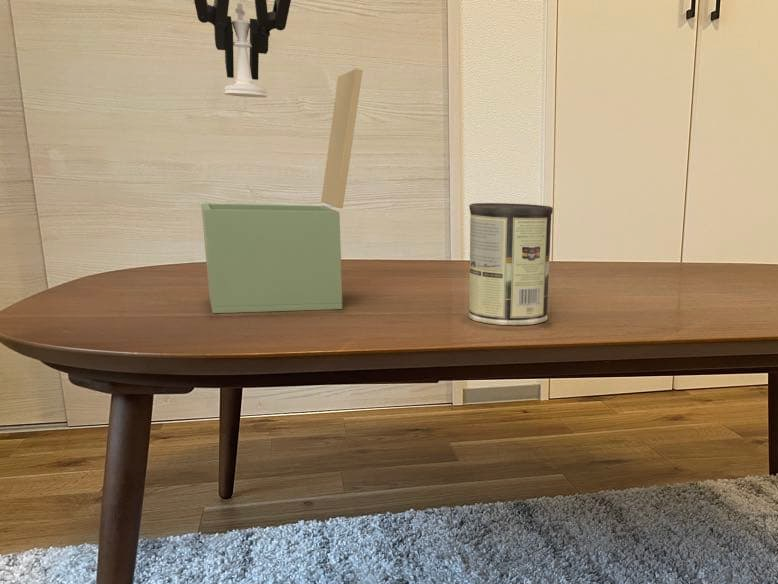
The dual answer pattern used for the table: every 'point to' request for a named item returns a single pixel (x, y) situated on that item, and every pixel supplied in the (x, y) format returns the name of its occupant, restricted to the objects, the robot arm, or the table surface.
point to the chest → (272, 257)
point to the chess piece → (243, 62)
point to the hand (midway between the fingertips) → (241, 70)
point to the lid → (341, 138)
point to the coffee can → (509, 263)
